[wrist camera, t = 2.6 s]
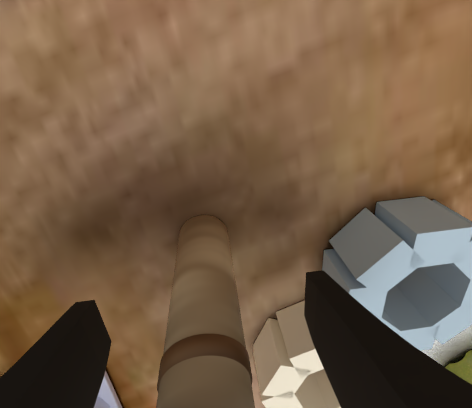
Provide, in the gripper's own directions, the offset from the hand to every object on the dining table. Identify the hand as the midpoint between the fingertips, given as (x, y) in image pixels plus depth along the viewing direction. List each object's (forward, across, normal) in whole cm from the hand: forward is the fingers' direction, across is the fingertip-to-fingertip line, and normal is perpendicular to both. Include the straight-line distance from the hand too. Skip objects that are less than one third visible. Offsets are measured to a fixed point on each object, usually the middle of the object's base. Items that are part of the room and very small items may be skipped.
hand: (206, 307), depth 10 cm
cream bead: (+5, -6, +9) cm, 12 cm away
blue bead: (+5, -10, +3) cm, 11 cm away
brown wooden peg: (+5, 0, 0) cm, 5 cm away
